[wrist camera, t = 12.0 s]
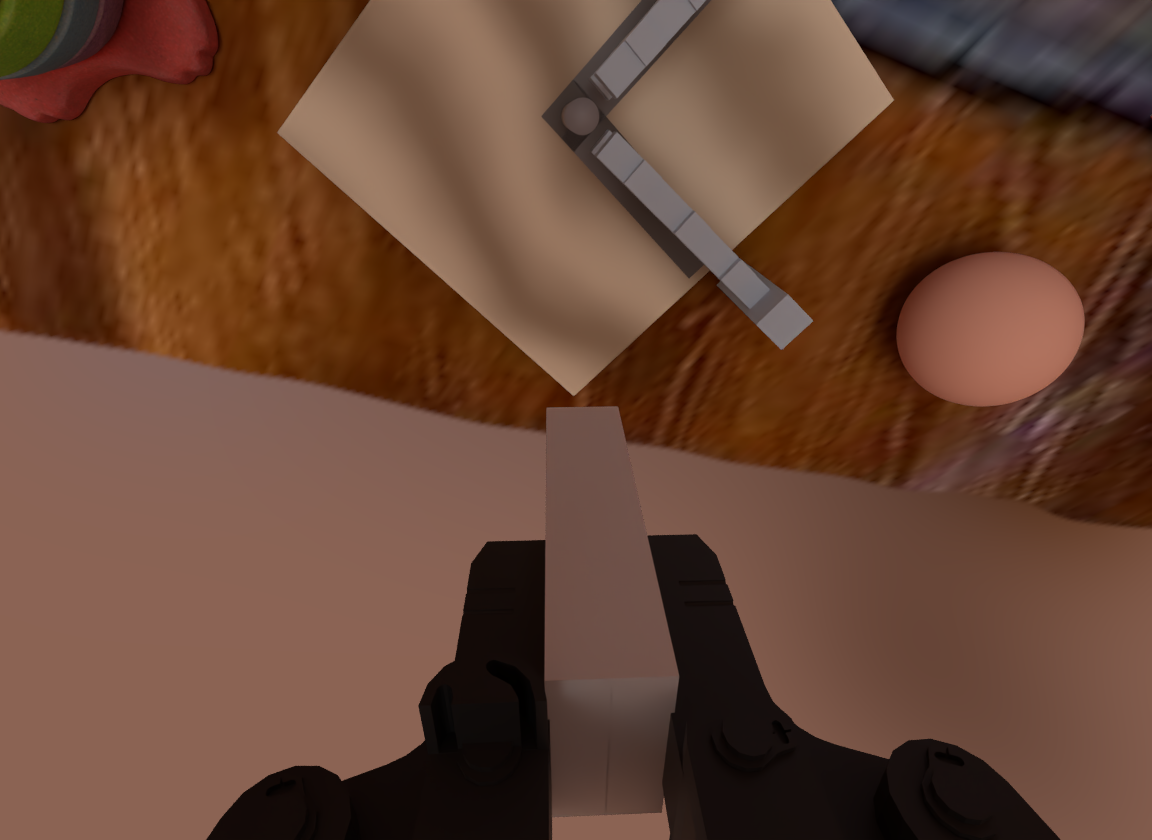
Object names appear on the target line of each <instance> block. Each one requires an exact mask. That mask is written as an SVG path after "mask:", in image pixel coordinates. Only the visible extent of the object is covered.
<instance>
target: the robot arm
mask: <svg viewBox="0 0 1152 840" xmlns="http://www.w3.org/2000/svg"><path fill="white" fill-rule="evenodd" d="M463 611H464V612H463V613H464V614H463V616H462V621H461V627H460V633H459V639H458V645H457V651H456V657H455V661H454V662H452V663H450V664H448V665H446V666H445V667H443V669H442V670H441V671H440V672H439V673H438V674H437V675H436V676H435V677H434V678H433V679H432V680H431V681H430V682H429V683H428V685H427V687H426V689H425V692H424V694H423V696H422V699H421V701H420V703H419V711H420V715H421V721H422V726H423V731H424V736H425V741H424V742H423V743H422V744H421V745H419V746H418V747H417V748H415V749H414V750H413V751H411V752H410V753H409V754H407V755H406V756H404V757H402V758H400V759H398V760H396V761H393V762H391V763H389V764H387V765H384V766H382V767H379V768H376V769H373V770H371V771H368V772H365V773H363V774H360V775H357V776H354V777H352V778H349V779H346V780H344V781H341V779H340V778H339V776H338V775H336V774H334V773H332V772H330V771H328V770H326V769H324V768H322V767H320V766H294V767H291V768H288V769H285V770H282V771H280V772H276V773H274V774H271V775H268V776H267V777H265V778H264V779H263V780H261V781H260V782H258V783H257V784H255V785H254V786H253V787H251V788H250V789H248V790H247V791H245V792H244V793H243V794H242V795H241V796H240V797H239V798H238V800H236V802H235V803H234V804H233V805H232V806H231V808H229V810H228V811H227V812H226V813H225V814H224V815H223V816H222V818H221V819H220V820H219V822H218V823H217V825H216V826H215V828H214V829H213V831H212V832H211V834H210V835H209V837H208V838H207V840H552V817H569V816H590V815H591V816H592V815H616V814H639V813H661V812H662V805H663V798H665V804H666V810H667V816H668V822H669V828H670V839H669V840H1060V839H1059V838H1058V836H1057V835H1056V834H1055V833H1054V832H1053V831H1052V830H1051V829H1050V828H1049V826H1047V824H1046V823H1045V822H1044V821H1043V820H1042V819H1041V818H1040V817H1039V816H1038V814H1037V813H1036V812H1035V811H1034V810H1033V809H1032V808H1031V807H1030V806H1029V805H1028V804H1027V802H1026V801H1025V800H1024V799H1023V798H1022V797H1021V796H1020V795H1019V794H1018V793H1017V791H1016V790H1015V789H1014V788H1013V787H1012V786H1011V785H1010V784H1009V783H1008V782H1007V781H1006V780H1005V779H1004V778H1003V777H1002V776H1000V775H999V774H998V773H997V772H995V770H994V769H992V768H991V767H990V766H989V765H988V764H987V763H986V762H984V761H983V760H981V759H980V758H978V757H976V756H974V755H972V754H970V753H969V752H967V751H965V750H963V749H962V748H960V747H958V746H956V745H952V744H948V743H944V742H941V741H937V740H933V739H921V740H909V741H907V742H905V743H904V744H902V745H901V746H899V747H898V748H897V749H895V750H893V752H892V754H891V757H890V759H886V758H882V757H879V756H875V755H871V754H868V753H864V752H860V751H857V750H853V749H849V748H846V747H842V746H839V745H835V744H832V743H830V742H827V741H824V740H821V739H819V738H816V737H814V736H813V735H811V734H809V733H808V732H806V731H804V730H803V729H801V728H799V727H798V726H797V725H796V724H794V722H793V721H792V719H791V718H790V717H789V716H788V715H787V714H786V713H784V712H783V711H782V710H781V709H780V708H779V707H778V706H777V705H776V704H775V703H774V702H773V701H772V699H771V697H770V695H769V693H768V691H767V689H766V687H765V685H764V682H763V679H762V677H761V674H760V671H759V669H758V666H757V663H756V660H755V658H754V655H753V652H752V650H751V647H750V645H749V642H748V639H747V636H746V634H745V631H744V628H743V625H742V623H741V620H740V617H739V615H738V612H737V609H736V607H735V606H734V605H733V598H732V596H731V593H730V590H729V588H728V585H727V584H726V582H725V577H724V574H723V571H722V569H721V566H720V564H719V561H718V558H717V555H716V554H715V553H714V552H713V551H712V550H711V549H710V548H709V547H708V546H707V545H706V544H705V543H704V542H703V541H702V540H701V539H700V538H699V537H698V535H696V534H693V535H653V536H647V532H646V528H645V524H644V519H643V515H642V510H641V506H640V501H639V497H638V493H637V488H636V484H635V480H634V475H633V471H632V467H631V462H630V458H629V454H628V449H627V444H626V440H625V436H624V431H623V427H622V422H621V418H620V414H619V409H618V406H616V407H557V408H547V417H546V540H532V541H495V542H494V541H493V542H487V543H486V544H485V546H484V547H483V548H482V550H481V551H480V552H479V554H478V555H477V556H476V558H475V559H474V560H473V562H472V563H471V568H470V574H469V580H468V586H467V594H466V597H465V604H464V609H463Z"/></svg>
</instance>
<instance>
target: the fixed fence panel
mask: <svg viewBox="0 0 1152 840" xmlns="http://www.w3.org/2000/svg"><path fill="white" fill-rule="evenodd" d="M705 1H706V0H657V1H656V3H655V4H654V5H653V6H652V7H651V9H650V10H649V11H648V12H647V13H646V14H645V16H644V17H643V18H642V19H641V20H640V21H639V22H638V24H637V25H636V26H635V27H634V28H633V29H632V30H631V32H630V33H629V34H628V35H627V36H626V37H625V38H624V39H623V40H622V41H621V43H620V44H619V45H618V46H617V47H616V48H615V49H614V51H613V52H612V53H611V54H610V56H609V57H608V58H607V59H606V60H605V61H604V62H603V64H602V65H601V66H600V67H599V68H598V69H597V70H596V72H595V73H594V74H593V75H592V76H591V77H590V78H589V80H590V81H591V82H592V84H593V85H594V86H595V87H596V88H597V90H598V91H599V92H600V93H601V94H602V95H603V97H604V98H605V99H606V100H607V101H608V100H610V99H611V98H612V97H613V98H614V99H616V98H618V97H619V96H620V95H621V93H622V92H623V91H624V90H625V89H626V88H627V87H628V86H629V85H630V83H631V82H632V81H633V80H634V79H635V78H636V77H637V76H638V75H639V74H640V72H641V71H642V70H643V69H644V68H645V67H646V66H647V65H648V64H649V63H650V62H651V61H652V60H653V59H654V57H655V56H656V55H657V54H658V53H659V52H660V51H661V50H662V49H663V47H664V46H665V45H666V44H667V43H668V41H669V40H670V39H671V38H672V37H673V36H674V35H675V34H676V33H677V31H678V30H679V29H680V28H681V27H682V26H683V25H684V24H685V23H686V22H687V20H688V19H689V18H690V17H691V16H692V15H693V14H694V13H695V12H696V11H697V10H698V9H699V8H700V7H701V5H702V4H703V3H704V2H705ZM561 119H562V122H563V124H564V126H565V127H566V128H568V129H569V130H571V131H572V132H574V133H576V134H578V135H587V134H589V133H591V132H592V131H593V130H594V129H595V128H596V126H597V124H598V121H599V111H598V108H597V106H596V105H595V103H594V102H593V101H592V100H590V99H588V98H583V97H582V98H577V99H575V100H573V101H572V102H570V103H568V104H567V105H566V106H565V107H564V108H563V110H562V113H561Z"/></svg>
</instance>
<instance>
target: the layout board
mask: <svg viewBox="0 0 1152 840" xmlns="http://www.w3.org/2000/svg"><path fill="white" fill-rule="evenodd" d="M656 1H657V0H370V1H369V3H368V4H367V5H366V7H365V8H364V10H363V11H362V13H361V14H360V15H359V17H358V18H357V20H356V21H355V23H354V24H353V25H352V27H351V28H350V30H349V31H348V32H347V34H346V35H345V37H344V38H343V40H342V41H341V42H340V44H339V45H338V47H337V48H336V50H335V51H334V52H333V54H332V55H331V57H330V58H329V60H328V61H327V62H326V64H325V65H324V67H323V68H322V70H321V71H320V72H319V74H318V75H317V77H316V78H315V79H314V81H313V82H312V84H311V85H310V87H309V88H308V89H307V91H306V92H305V94H304V95H303V97H302V98H301V99H300V101H299V102H298V104H297V105H296V107H295V108H294V109H293V111H292V112H291V114H290V115H289V117H288V118H287V119H286V121H285V122H284V124H283V125H282V126H281V128H280V129H279V131H278V132H277V133H278V134H279V135H280V136H281V137H283V138H284V139H285V140H286V141H287V142H288V143H289V144H290V145H292V146H293V147H294V148H295V149H296V150H297V151H298V152H299V153H301V154H302V155H303V156H304V157H305V158H306V159H307V160H308V161H310V162H311V163H312V164H313V165H314V166H315V167H316V168H317V169H319V170H320V171H321V172H322V173H323V174H324V175H325V176H326V177H328V178H329V179H330V180H331V181H332V182H333V183H334V184H335V185H337V186H338V187H339V188H340V189H341V190H342V191H343V192H344V193H346V194H347V195H348V196H349V197H350V198H351V199H352V200H353V201H355V202H356V203H357V204H358V205H359V206H360V207H361V208H362V209H364V210H365V211H366V212H367V213H368V214H369V215H370V216H371V217H373V218H374V219H375V220H376V221H377V222H378V223H379V224H380V225H382V226H383V227H384V228H385V229H386V230H387V231H388V232H390V233H391V234H392V235H393V236H394V237H395V238H396V239H397V240H399V241H400V242H401V243H402V244H403V245H404V246H405V247H406V248H408V249H409V250H410V251H411V252H412V253H413V254H414V255H415V256H417V257H418V258H419V259H420V260H421V261H422V262H423V263H424V264H426V265H427V266H428V267H429V268H430V269H431V270H432V271H433V272H435V273H436V274H437V275H438V276H439V277H440V278H441V279H442V280H444V281H445V282H446V283H447V284H448V285H449V286H450V287H451V288H453V289H454V290H455V291H456V292H457V293H458V294H459V295H460V296H462V297H463V298H464V299H465V300H466V301H467V302H468V303H469V304H471V305H472V306H473V307H474V308H475V309H476V310H477V311H478V312H480V313H481V314H482V315H483V316H484V317H485V318H486V319H487V320H489V321H490V322H491V323H492V324H493V325H494V326H495V327H496V328H498V329H499V330H500V331H501V332H502V333H503V334H504V335H505V336H507V337H508V338H509V339H510V340H511V341H512V342H513V343H514V344H516V345H517V346H518V347H519V348H520V349H521V350H522V351H524V352H525V353H526V354H527V355H528V356H529V357H530V358H531V359H533V360H534V361H535V362H536V363H537V364H538V365H539V366H540V367H542V368H543V369H544V370H545V371H546V372H547V373H548V374H549V375H551V376H552V377H553V378H554V379H555V380H556V381H557V382H558V383H560V384H561V385H562V386H563V387H564V388H565V389H566V390H567V391H569V392H570V393H571V394H572V395H573V396H574V395H576V394H577V393H578V392H579V391H580V390H581V389H582V388H583V387H584V386H585V385H586V384H587V383H589V382H590V381H591V380H592V379H593V378H594V377H595V376H596V375H597V374H598V373H599V372H600V371H602V370H603V369H604V368H605V367H606V366H607V365H608V364H609V363H610V362H611V361H612V360H613V359H615V358H616V357H617V356H618V355H619V354H620V353H621V352H622V351H623V350H624V349H625V348H626V347H628V346H629V345H630V344H631V343H632V342H633V341H634V340H635V339H636V338H637V337H638V336H639V335H641V334H642V333H643V332H644V331H645V330H646V329H647V328H648V327H649V326H650V325H651V324H652V323H653V322H655V321H656V320H657V319H658V318H659V317H660V316H661V315H662V314H663V313H664V312H665V311H666V310H668V309H669V308H670V307H671V306H672V305H673V304H674V303H675V302H676V301H677V300H678V299H679V298H681V297H682V296H683V295H684V294H685V293H686V292H687V291H688V290H689V289H690V288H691V287H692V286H694V285H695V284H696V283H697V282H698V281H699V280H700V279H701V278H702V277H703V276H704V275H705V274H707V273H708V272H709V271H710V270H709V269H708V268H707V267H706V266H705V265H704V264H703V263H702V262H701V261H700V260H699V259H698V258H697V257H696V256H695V255H694V254H693V253H692V252H691V251H690V250H689V249H688V248H687V247H686V246H685V245H684V244H683V243H682V242H681V241H680V240H679V239H678V238H677V237H676V236H675V235H674V234H673V233H672V232H671V231H670V230H669V229H668V228H667V227H666V226H665V225H664V224H663V223H662V222H661V221H660V220H659V219H658V218H657V217H656V216H655V215H654V214H653V213H652V212H651V211H650V210H649V209H648V208H647V207H646V206H645V205H644V204H643V203H642V202H641V201H640V200H639V199H638V198H637V197H636V196H635V195H634V194H633V193H632V192H631V191H630V190H629V189H628V188H627V187H626V186H625V185H624V184H623V183H622V182H621V181H619V180H618V179H617V178H616V177H615V176H614V175H613V174H612V173H611V171H610V170H609V169H608V168H607V167H606V166H605V165H604V164H603V163H602V162H601V161H600V160H599V159H598V158H597V157H596V156H595V155H594V154H593V153H592V152H590V150H591V149H592V148H593V146H594V145H595V144H596V143H597V141H598V140H599V139H600V138H601V137H602V135H603V134H604V133H605V132H606V130H610V131H611V132H612V133H613V132H614V131H615V132H617V133H618V134H619V135H620V136H621V137H622V138H623V139H624V140H625V141H626V142H627V143H628V144H629V145H630V146H631V147H632V148H633V149H634V150H635V151H636V152H637V153H638V154H639V155H640V156H641V157H642V158H643V159H644V160H645V161H646V162H647V163H648V164H649V165H650V166H651V167H652V168H653V169H654V170H655V171H656V172H657V173H658V174H659V175H660V176H661V177H662V179H663V180H664V181H665V182H666V183H667V184H668V185H669V186H670V187H671V188H672V189H673V190H674V191H675V192H676V193H677V194H678V195H679V196H680V197H681V198H682V200H683V201H684V202H685V203H686V204H687V205H688V206H689V207H690V208H691V209H692V210H693V211H695V212H696V213H697V214H698V215H699V216H700V217H701V218H702V219H703V220H704V221H705V222H706V223H707V225H708V226H709V227H710V228H711V229H712V230H713V231H714V233H715V234H716V235H717V236H718V237H719V238H720V239H721V240H722V241H723V242H724V243H725V244H726V245H727V246H728V247H729V248H730V249H731V250H733V249H734V248H735V247H736V246H737V245H738V244H739V243H740V242H741V241H742V240H743V239H744V238H745V237H747V236H748V235H749V234H750V233H751V232H752V231H753V230H754V229H755V228H756V227H757V226H758V225H760V224H761V223H762V222H763V221H764V220H765V219H766V218H767V217H768V216H769V215H770V214H771V213H773V212H774V211H775V210H776V209H777V208H778V207H779V206H780V205H781V204H782V203H783V202H784V201H786V200H787V199H788V198H789V197H790V196H791V195H792V194H793V193H794V192H795V191H796V190H797V189H799V188H800V187H801V186H802V185H803V184H804V183H805V182H806V181H807V180H808V179H809V178H810V177H812V176H813V175H814V174H815V173H816V172H817V171H818V170H819V169H820V168H821V167H822V166H823V165H824V164H826V163H827V162H828V161H829V160H830V159H831V158H832V157H833V156H834V155H835V154H836V153H837V152H839V151H840V150H841V149H842V148H843V147H844V146H845V145H846V144H847V143H848V142H849V141H850V140H852V139H853V138H854V137H855V136H856V135H857V134H858V133H859V132H860V131H861V130H862V129H863V128H865V127H866V126H867V125H868V124H869V123H870V122H871V121H872V120H873V119H874V118H875V117H876V116H878V115H879V114H880V113H881V112H882V111H883V110H884V109H885V108H886V107H887V106H888V105H889V104H891V103H892V102H893V101H894V100H893V98H892V97H891V95H890V93H889V92H888V90H887V89H886V87H885V85H884V84H883V82H882V81H881V79H880V78H879V76H878V74H877V73H876V71H875V70H874V68H873V66H872V65H871V63H870V62H869V60H868V59H867V57H866V55H865V54H864V52H863V51H862V49H861V48H860V46H859V44H858V43H857V41H856V40H855V38H854V36H853V35H852V33H851V32H850V30H849V29H848V27H847V25H846V24H845V22H844V21H843V19H842V18H841V16H840V14H839V13H838V11H837V10H836V8H835V6H834V5H833V3H832V2H831V0H706V1H705V2H704V3H703V4H702V5H701V7H700V8H699V9H698V10H697V11H696V12H695V13H694V14H693V15H692V16H691V17H690V18H689V19H688V20H687V22H686V23H685V24H684V25H683V26H682V27H681V28H680V29H679V30H678V31H677V33H676V34H675V35H674V36H673V37H672V38H671V39H670V40H669V41H668V43H667V44H666V45H665V46H664V47H663V49H662V50H661V51H660V52H659V53H658V54H657V55H656V56H655V57H654V59H653V60H652V61H651V62H650V63H649V64H648V65H647V66H646V67H645V68H644V69H643V70H642V71H641V72H640V74H639V75H638V76H637V77H636V78H635V79H634V80H633V81H632V82H631V83H630V85H629V86H628V87H627V88H626V89H625V90H624V91H623V92H622V93H621V95H620V96H619V97H618V98H616V99H614V98H613V97H612V98H611V99H610V100H608V101H607V100H606V99H605V98H604V97H603V95H602V94H601V93H600V92H599V91H598V90H597V88H596V87H595V86H594V85H593V84H592V82H591V81H590V80H589V78H590V77H591V76H592V75H593V74H594V73H595V72H596V70H597V69H598V68H599V67H600V66H601V65H602V64H603V62H604V61H605V60H606V59H607V58H608V57H609V56H610V54H611V53H612V52H613V51H614V49H615V48H616V47H617V46H618V45H619V44H620V43H621V41H622V40H623V39H624V38H625V37H626V36H627V35H628V34H629V33H630V32H631V30H632V29H633V28H634V27H635V26H636V25H637V24H638V22H639V21H640V20H641V19H642V18H643V17H644V16H645V14H646V13H647V12H648V11H649V10H650V9H651V7H652V6H653V5H654V4H655V3H656ZM582 97H583V98H588V99H590V100H592V101H593V102H594V103H595V105H596V106H597V108H598V111H599V121H598V124H597V126H596V128H595V129H594V130H593V131H592V132H591V133H589V134H587V135H578V134H576V133H574V132H572V131H571V130H569V129H568V128H566V127H565V126H564V124H563V122H562V119H561V113H562V110H563V108H564V107H565V106H566V105H567V104H568V103H570V102H572V101H573V100H575V99H577V98H582Z"/></svg>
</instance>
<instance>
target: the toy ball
mask: <svg viewBox="0 0 1152 840" xmlns="http://www.w3.org/2000/svg"><path fill="white" fill-rule="evenodd" d="M1084 324H1085V319H1084V310H1083V306H1082V303H1081V300H1080V297H1079V295H1078V293H1077V291H1076V290H1075V288H1074V287H1073V285H1072V284H1071V283H1070V282H1069V280H1068V279H1067V278H1066V277H1065V276H1064V275H1063V274H1061V273H1060V272H1059V271H1058V270H1056V269H1055V268H1053V267H1052V266H1050V265H1048V264H1047V263H1045V262H1043V261H1040V260H1038V259H1035V258H1033V257H1030V256H1026V255H1022V254H1017V253H1009V252H986V253H978V254H973V255H969V256H965V257H962V258H959V259H956V260H953V261H951V262H949V263H947V264H945V265H943V266H941V267H939V268H938V269H936V270H934V271H933V272H932V273H930V274H929V275H928V276H926V277H925V278H924V279H923V280H922V281H921V282H920V283H919V284H918V285H917V286H916V287H915V288H914V289H913V290H912V292H911V293H910V295H909V296H908V298H907V299H906V301H905V303H904V305H903V307H902V310H901V313H900V316H899V319H898V324H897V334H896V336H897V347H898V351H899V355H900V358H901V360H902V362H903V364H904V366H905V368H906V370H907V371H908V373H909V374H910V375H911V376H912V378H913V379H914V380H915V381H916V382H917V383H918V384H919V385H921V386H922V387H923V388H924V389H926V390H927V391H929V392H930V393H932V394H934V395H936V396H938V397H940V398H942V399H944V400H947V401H950V402H953V403H957V404H962V405H969V406H995V405H1002V404H1007V403H1011V402H1015V401H1018V400H1021V399H1023V398H1026V397H1028V396H1031V395H1033V394H1035V393H1036V392H1038V391H1040V390H1042V389H1043V388H1045V387H1046V386H1048V385H1049V384H1050V383H1052V382H1053V381H1054V380H1055V379H1056V378H1058V377H1059V376H1060V375H1061V374H1062V373H1063V371H1064V370H1065V369H1066V368H1067V367H1068V365H1069V364H1070V363H1071V361H1072V360H1073V358H1074V356H1075V354H1076V353H1077V351H1078V348H1079V346H1080V343H1081V340H1082V337H1083V333H1084Z"/></svg>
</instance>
